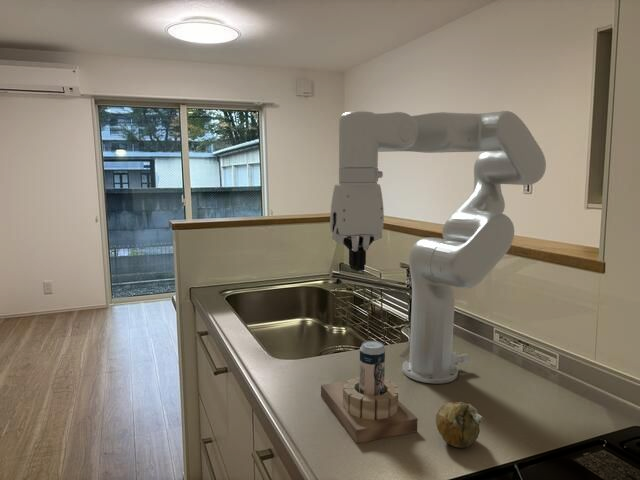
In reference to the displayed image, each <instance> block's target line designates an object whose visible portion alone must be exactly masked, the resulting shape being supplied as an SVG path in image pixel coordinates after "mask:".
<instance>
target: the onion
mask: <svg viewBox="0 0 640 480" xmlns="http://www.w3.org/2000/svg"><path fill="white" fill-rule="evenodd" d="M484 420H485V418H484V417H483V416H482V415H480V414H479V412H478V410H477V408H475V406H473V405H472V404H471V403H468V402H466V403H465V402H464V401H459V402H457V401H454V402H447V403H444V404H442V405H441V407H440V408H439V409H438V411H437V413H436V415H435V424H436V428H437V429H436V430H437V431H438V433H439V434H440V436H441V437H442V439H443V441H444V442H446V443H447V444H449V446H450V445H451V446H452V447H455V448H460V449H461V448H467V447H469V446H471V445H472V444H474V443H475V442H476V440H477V439H478V437H479V434H480V431H481V429H480V424H481V423H483V422H484Z"/></svg>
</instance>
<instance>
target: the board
mask: <svg viewBox="0 0 640 480" xmlns="http://www.w3.org/2000/svg"><path fill="white" fill-rule="evenodd" d="M320 397H321V398H322V400H323V401H324V402H325V404H326V406H328V408H329V409H330V411H331V412H332V413H333V415H334V416H335V418H336V419H337V420H338V421H339V422H340V424H341V426H342V427H343V428H344V429H345V430H346V432H347V433H348V434H349V436H350V438H352V440H353V442H354V443H355V444H360V443H365V442H366V443H367V442H371V441H375V440H380V439H386V438H390V437H395V436H401V435H406V434H411V433H415V432H417V431H418V421H419V420H418V417H417V416H416V415H415V414H413V413H412V412H411V411H410V410H409V409H408V407H406V406H405V405H404V404H403V403H402V402H401V401H400V400H399V387H398V385H397V384H395V382H393V381H391V380H389V379H386V378H384V394H383V395H378V396H368V395H363V394H361V393H359V376H355V377H354V378H351V379H349V380H345V381H339V382H332V383H330V382H329V383H325V384H321V385H320Z"/></svg>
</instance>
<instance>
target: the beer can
mask: <svg viewBox="0 0 640 480" xmlns="http://www.w3.org/2000/svg"><path fill="white" fill-rule="evenodd" d="M385 366H386V348H385V345H384V343H382V342H381V341H376V340H366V341H363V342H362V344H361V346H360V347H359V373H358V375H359V376H358V377H359V393H361V394H363V395H368V396H378V395H383V394H384V379H385V371H386V370H385V369H386V367H385Z"/></svg>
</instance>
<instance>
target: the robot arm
mask: <svg viewBox="0 0 640 480" xmlns="http://www.w3.org/2000/svg"><path fill="white" fill-rule="evenodd" d="M338 122H339V123H338V184H334V187H333V192H332V198H331V205H330V216H329V217H330V218H329V230H330V232H331V233H332V237H331V240H332V242H335V243H340V244H342V245H344V246H345V247H346V249H347V250H348V265H349V268H350V269H351V270H354V271H355V272H360V271H361V272H362V271H365V268H366V267H365V265H367V251H368V250H369V249H370V248H369V247H371V244H372V243H373V242H375V241H377V240H380V239H382V238H383V233H382V231H383V230H384V224H385V219H384V217H385V216H384V215H385V214H384V213H385V212H384V211H385V210H384V199H383V194H382V188H381V184H379V183H378V182H379V179H382V178H383V175H384V173H383V171H381V170H379V166H378V165H379V162H378V161H379V153H381V152H382V153H383V152H385V153H388V152H390V153H391V152H412V153H413V152H414V153H415V152H416V153H424V154H425V153H429V154H430V153H431V154H432V153H433V154H435V153H438V154H441V153H443V154H444V153H473V152H474V153H477V152H478V153H479V152H481V153H480V154H479V155H478V156H477V157H476V160H475V162H474V166H473V191H472V192H471V194H470V196H469V197H468V198H467V199H466V200H465V201H464V202H463V203H462V204H461V205H460V206H459V207H458V208H457V209H456V210H455V211H454V212H453V213H452V214H451V215H450V216H449V217H448V219H447V220H446V221H445V223H444V224H443V227H442V229H441V230H442V231H441V232H442V233H441V234H442V238H439V237H431V236H430V237H424V238H421V239H419V240H418V241H416V242H415V243H414V244H413V246H412V247H411V249H410V251H409V255H408V257H409V258H408V265H409V272H410V278H411V309H410V310H411V314H410V332H409V333H410V335H409V336H410V338H409V339H410V341H409V359H407V360H405V361H403V363H402V367H401V368H402V371H401V372H403V374H404V375H405V376H407V377H408V378H410V379H412V380H413V381H417V382H419V383H420V382H421V383H424V384H425V383H427V384H434V385H435V384H438V385H439V384H447V383H450V382H453V381H455V380H456V379H457V378H458V376H459V375H458V373H459V371H458V368H457V367H456V366H457V365H458V364H462V363H469V361H470V356H469V354H468V353H462V354H458V352H457V351H453V337H454V335H453V334H454V321H455V307H456V306H455V305H456V304H455V303H456V301H455V294H454V290H453V287H455V288H458V289H465V290H466V289H471V288H474V287H476V286H477V285H478V284H480V283H481V282H482V281H483V280H484V279H485V278H486V277H487V275H488V274H489V273H490V272H491V271H492V270H493V269H494V268H495V267H496V265H498V263H499V262H500V261H501V260H502V259H503V258H504V256H505V255H506V254H507V253H508V252H509V250H510V249H511V246H512V244H513V242H514V238H515V226H514V223H513V221H512V220H511V218H510V217H509V216H508V215H506V214H504V211H505V208H506V203H505V199H504V195H503V192H502V187H501V186H502V185H514V186H515V185H516V186H517V185H518V186H528V185H529V186H530V185H534V184H536V183H538V182H539V181H541V180H542V178H543V177H544V175H545V173H546V169H547V163H546V161H547V160H546V157H545V155H544V152H543V150H542V148H541V147H540V145H539V144H538V142H537V140H536V139H535V137H534V135H533V134H532V132H531V131H530V129H529V128H528V126H527V125H526V124H525V122H524V121H523V120H522V119H521V118H520V117H519V116H518V115H517V114H515V113H514V112H512V111H509V110H501V111H494V112H491V111H490V112H482V113H473V112H471V113H470V112H469V113H468V112H467V113H463V112H447V111H446V112H445V111H444V112H443V111H442V112H429V113H424V114H418V115H411V114H408V113H406V112H403V111H402V112H401V111H394V112H393V111H392V112H384V113H375V112H372V111H365V110H364V111H362V110H361V111H360V110H359V111H357V110H354V111H347V112H344V113H343V114H341V115H340V117H339V121H338Z"/></svg>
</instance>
